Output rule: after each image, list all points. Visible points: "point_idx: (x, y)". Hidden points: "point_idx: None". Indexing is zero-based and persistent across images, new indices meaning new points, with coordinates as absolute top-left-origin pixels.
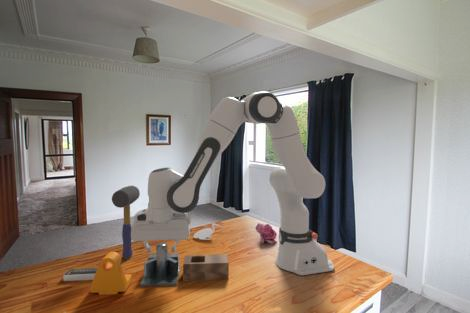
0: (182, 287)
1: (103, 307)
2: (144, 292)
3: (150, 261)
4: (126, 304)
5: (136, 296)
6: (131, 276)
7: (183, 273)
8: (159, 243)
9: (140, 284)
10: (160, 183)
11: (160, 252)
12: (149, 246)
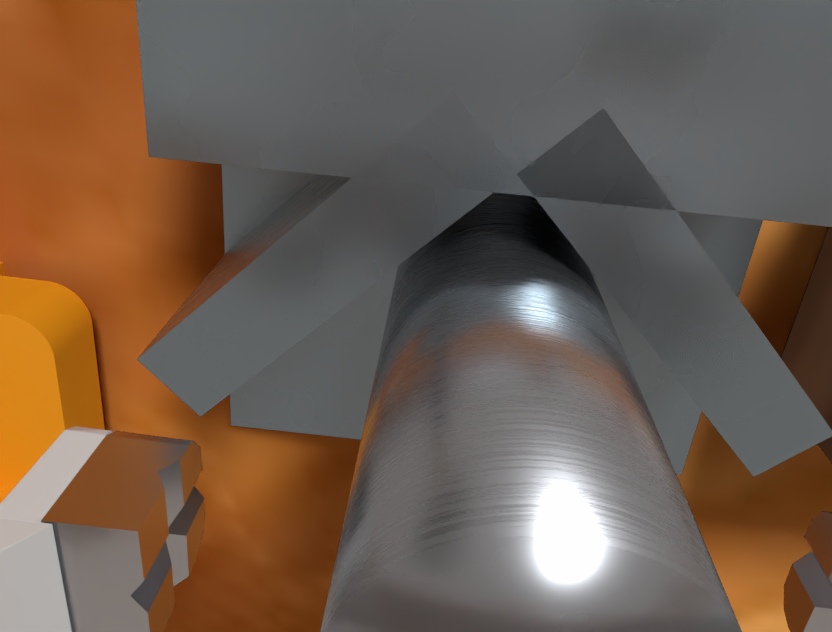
0: (734, 502)
1: None
2: (318, 508)
3: (261, 345)
4: (202, 629)
5: (255, 550)
6: (60, 351)
7: (823, 444)
8: (424, 589)
9: (236, 419)
10: None
11: None
12: (85, 569)
